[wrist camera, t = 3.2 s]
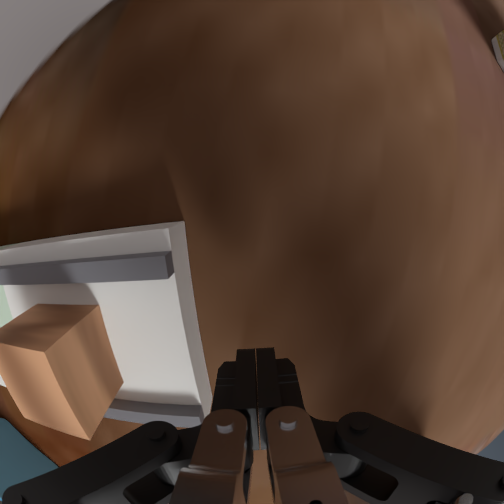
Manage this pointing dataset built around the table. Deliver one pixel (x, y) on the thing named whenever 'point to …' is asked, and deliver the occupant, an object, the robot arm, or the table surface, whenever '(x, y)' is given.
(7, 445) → the blue square slab
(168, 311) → the tray
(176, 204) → the table surface
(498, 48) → the ceramic cup
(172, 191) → the table surface
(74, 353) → the terracotta cube
